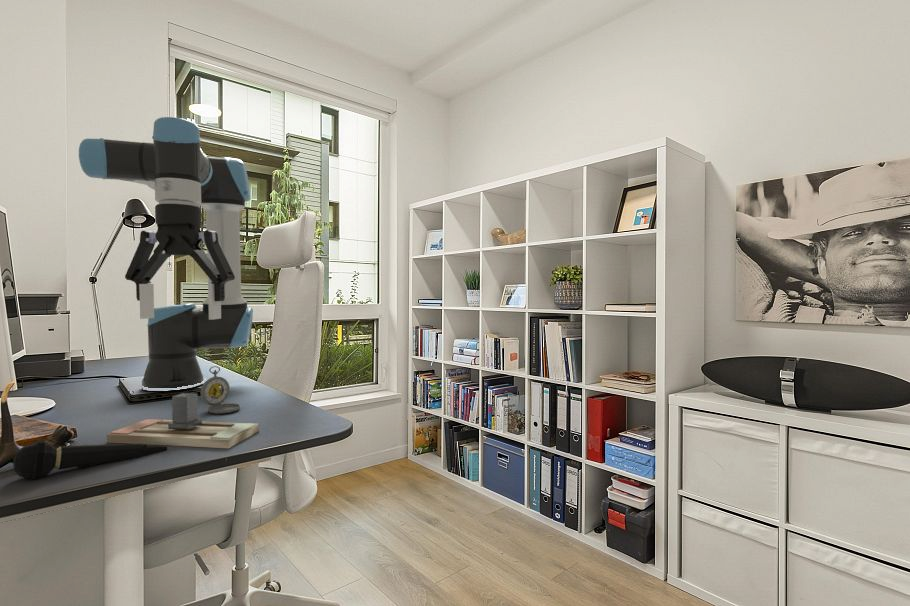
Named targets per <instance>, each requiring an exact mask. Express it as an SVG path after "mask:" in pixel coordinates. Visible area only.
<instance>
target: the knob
mask: <svg viewBox="0 0 910 606" xmlns="http://www.w3.org/2000/svg"><path fill="white" fill-rule="evenodd" d="M171 401H172V402H171V404H172V405H171V406H172V407H171V408H172V409H171V410H172V411H171V412H172V414H171V415H172V420H173V422H171V423H169V424H168V429H180V430H189V429H191V428H193V427H196V426H198V425H200V424H202V422H203V418H199V410H198V408H199V405H198V393H189V392H186V393H185V392H182V393H179V394H176V395H172V397H171Z"/></svg>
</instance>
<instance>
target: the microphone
mask: <svg viewBox="0 0 910 606" xmlns="http://www.w3.org/2000/svg"><path fill="white" fill-rule="evenodd" d="M167 450H168V445H148V444H129V443H113V444H91V445H90V444H87V445H85V444H84V445H61V446H59V447H57V448H56V447H55V446H54V445H53V444H51V443H47V442H46V441H45V440H44V439H40V440H36V442H33V443H29V444H26V445H24V446H22V447H21V448H20V449H19V450H18V451H17V452H16V453H15V456H14V458H13V461H12V464H13V466H12V467H13V472H15V473H16V474H17V475H18V476H19V477H21V478H24V479H25V478H26V479H32V480H37V479H38V478H39V479H41V478H42V477H44V476H45V475H48V474H50V473H51V472H52V471H53V470H54V469H56V470H58V471H59V470H65V469H66V470H67V469H73V468H78V469H83V468H89V467H91V466H92V465H100V464H105V463H106V464H107V463H113V462H119V461H124V460H129V459H130V460H131V459H135V458H141V457H143V456H147V455H150V454H156V453H161V452H164V451H167Z"/></svg>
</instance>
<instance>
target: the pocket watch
mask: <svg viewBox="0 0 910 606" xmlns="http://www.w3.org/2000/svg"><path fill="white" fill-rule="evenodd" d="M213 368H218V370H216V369H214V370H213V371H211V370H212V369H213ZM208 371H209V372H210V373H211V374H212V375H213V377H210V378H208V379H206V381H204V384H203V385H201V388H200V398H201V400H202V401H203V403H205V404H206V405H208V406H209V407H208V408H207V411H208V413H211V414H216V415H217V414H219V415H220V414H228V413H230V414H231V413H233V412H236V411H237V412H238V410H240V408H241V405H240V403H230V402H228V403H223V402H225V401H226V399H227V398H228V397H229V393H230V384H229V382H228V380H227V379H226V378H224V377H222V376H217V375H218V373H219V372H220V371H221V368H220V367H219V366H216V365H215V366H212V367H210V368H209V370H208ZM213 397H214V398H213Z"/></svg>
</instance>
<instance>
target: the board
mask: <svg viewBox="0 0 910 606" xmlns="http://www.w3.org/2000/svg"><path fill="white" fill-rule="evenodd" d="M171 422H173V419H171V420H170V419H156V418H154V419H153V418H151V419H150V418H146V419H143V420H141V421H138V422H135V423H132V424H130V425H127V426H124V427H122V428H118V429H117V430H113V431H110V432H109V433H107V434H106V443H108V444H109V443H110V444H111V443H112V444H141V445H148V446H174V447H175V446H176V447H192V448H193V447H197V448H216V449H231V448H232V447H233V446H236V445H237V444H239V443H241V442H243V441H244V440H246V439H248V438H250V437H251V436H254V435H255V434H257V433H258V432H259V431H260V430H259V429H260V427H259V426H260V425H259V424H260V423H255V422H254V423H249V422H224V421H202V424H200V425H198V426H196V427H193V428H191V429H189V430H180V429H168V424H169V423H171Z"/></svg>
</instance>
